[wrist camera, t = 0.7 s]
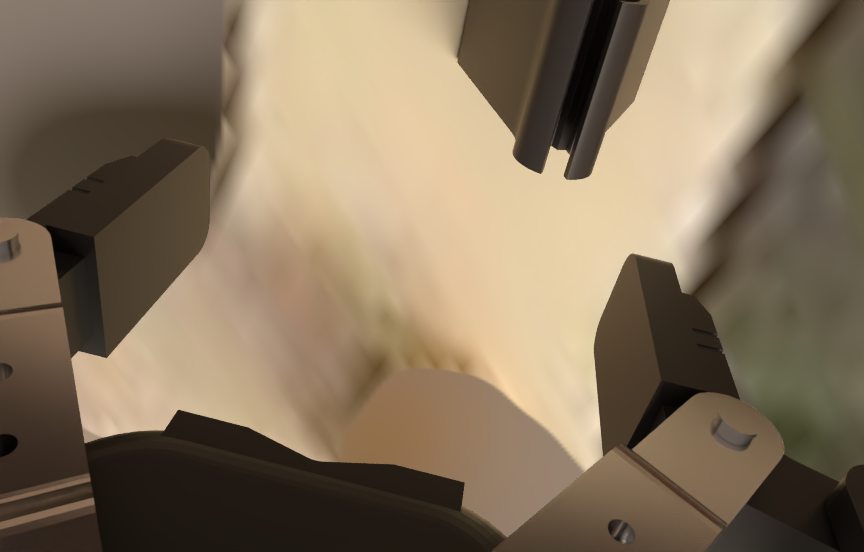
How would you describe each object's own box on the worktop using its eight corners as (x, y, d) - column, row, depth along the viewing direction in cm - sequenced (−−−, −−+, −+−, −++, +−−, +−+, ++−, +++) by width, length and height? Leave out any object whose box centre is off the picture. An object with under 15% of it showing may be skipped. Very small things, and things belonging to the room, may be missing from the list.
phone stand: (678, -29, 30) (754, 31, 20) (632, 99, 34) (677, 205, 23) (484, -73, 30) (463, -35, 20) (457, 59, 33) (427, 149, 23)
